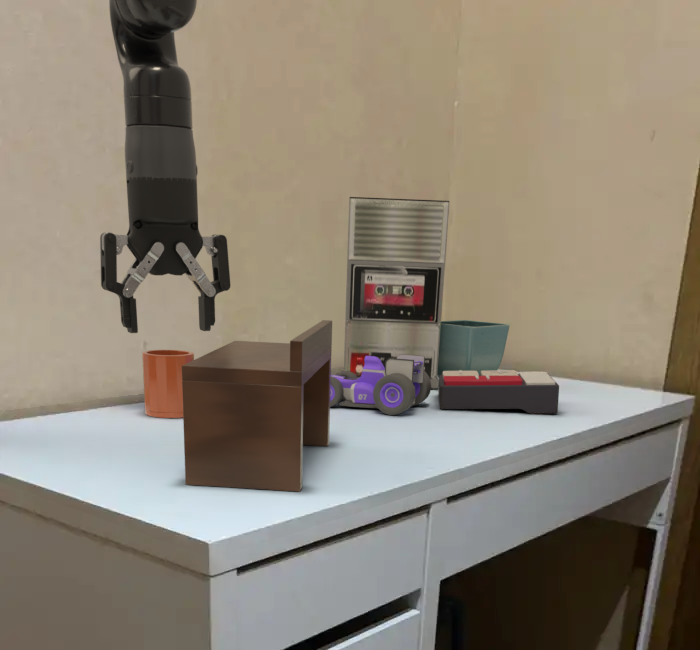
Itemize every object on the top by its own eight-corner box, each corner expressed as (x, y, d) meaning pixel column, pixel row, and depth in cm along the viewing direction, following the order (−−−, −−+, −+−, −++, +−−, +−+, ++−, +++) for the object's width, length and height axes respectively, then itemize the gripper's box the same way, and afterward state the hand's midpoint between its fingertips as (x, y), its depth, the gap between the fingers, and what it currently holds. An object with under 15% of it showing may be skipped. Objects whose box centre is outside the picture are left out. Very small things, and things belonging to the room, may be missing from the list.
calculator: (438, 368, 129) (549, 367, 128) (438, 400, 130) (547, 399, 129) (440, 380, 119) (560, 379, 118) (439, 414, 120) (558, 413, 119)
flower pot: (422, 383, 141) (426, 320, 137) (461, 379, 146) (466, 319, 143) (466, 391, 135) (471, 326, 131) (505, 386, 140) (511, 324, 137)
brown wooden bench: (185, 484, 81) (180, 335, 76) (235, 438, 99) (234, 315, 94) (300, 491, 80) (302, 341, 75) (329, 443, 98) (332, 320, 93)
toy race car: (323, 395, 127) (325, 345, 124) (430, 405, 122) (433, 354, 120) (296, 405, 119) (296, 352, 116) (408, 417, 114) (412, 362, 112)
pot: (138, 416, 108) (135, 354, 106) (153, 408, 114) (151, 348, 111) (187, 419, 108) (185, 356, 105) (200, 410, 113) (198, 351, 111)
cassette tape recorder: (342, 386, 135) (348, 196, 125) (342, 380, 141) (348, 198, 131) (437, 390, 135) (451, 200, 126) (433, 383, 141) (446, 202, 131)
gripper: (213, 179, 107) (217, 327, 113) (87, 173, 101) (99, 329, 108) (235, 177, 101) (239, 333, 107) (102, 171, 95) (114, 336, 101)
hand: (169, 331), depth 107 cm, fingers open, 8 cm apart
